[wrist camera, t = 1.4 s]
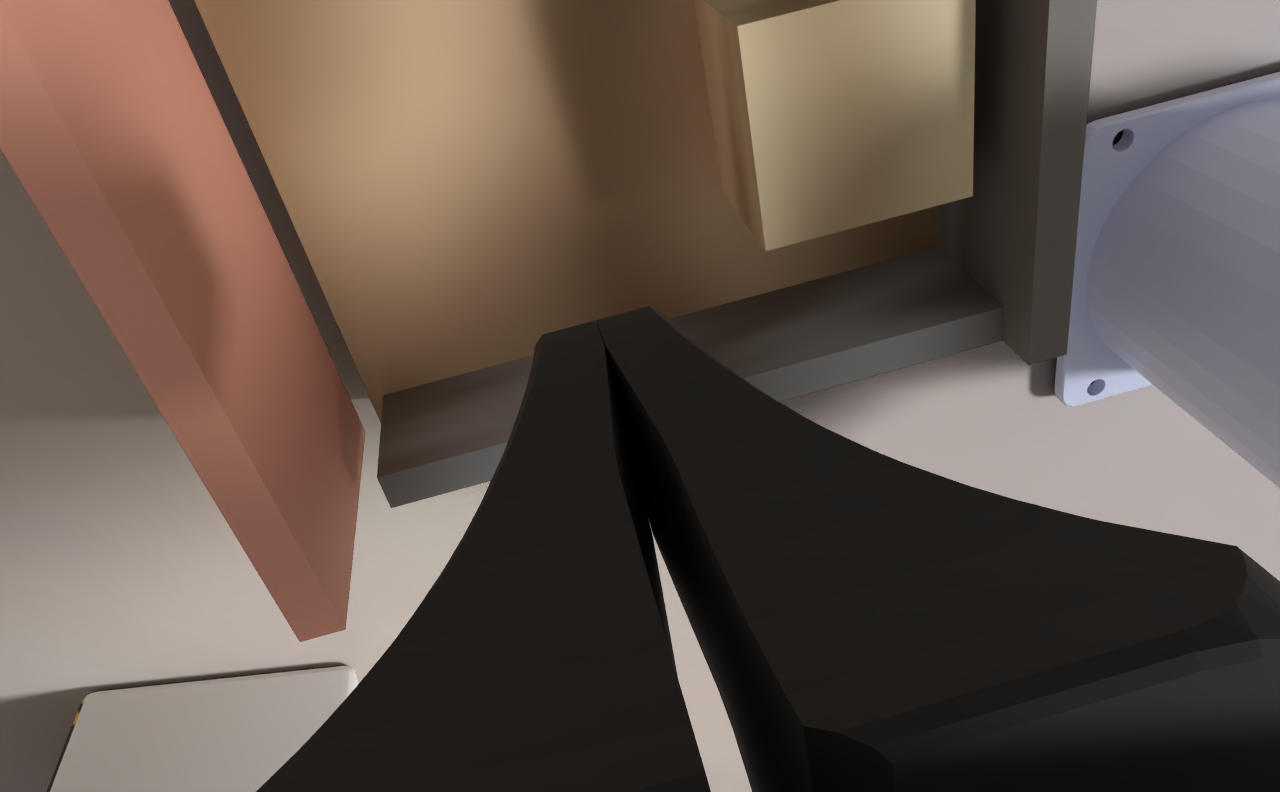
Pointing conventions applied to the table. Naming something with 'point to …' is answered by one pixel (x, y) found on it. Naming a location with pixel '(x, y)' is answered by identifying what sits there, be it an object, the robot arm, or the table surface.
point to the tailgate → (188, 280)
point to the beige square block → (839, 109)
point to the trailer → (622, 205)
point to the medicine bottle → (197, 732)
